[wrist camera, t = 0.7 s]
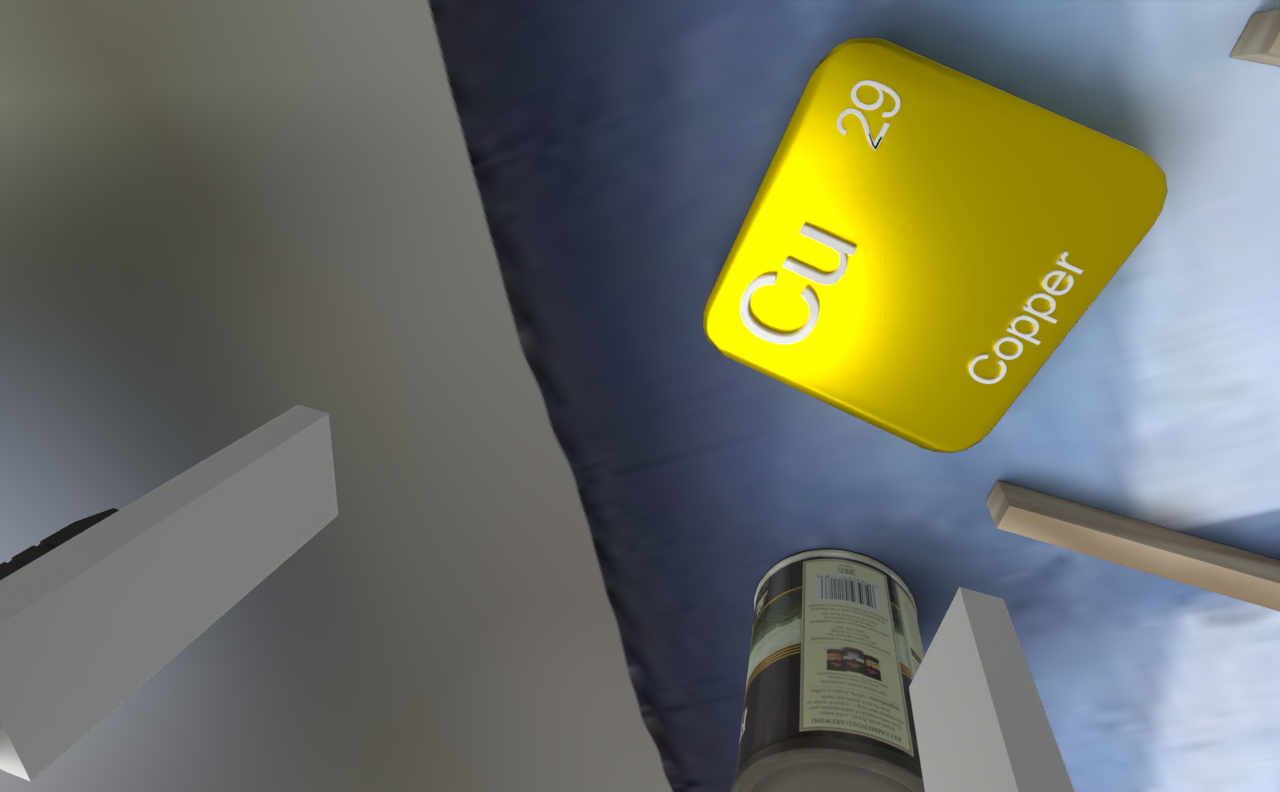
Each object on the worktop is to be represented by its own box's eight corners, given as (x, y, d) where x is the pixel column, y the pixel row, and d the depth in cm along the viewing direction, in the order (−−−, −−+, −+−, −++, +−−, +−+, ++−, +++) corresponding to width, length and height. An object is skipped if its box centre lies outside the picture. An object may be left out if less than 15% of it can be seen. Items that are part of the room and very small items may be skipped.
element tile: (947, 430, 35) (965, 474, 31) (701, 315, 36) (686, 344, 32) (1146, 164, 28) (1205, 175, 24) (834, 29, 29) (837, 16, 24)
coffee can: (783, 678, 45) (771, 899, 32) (732, 563, 42) (697, 758, 29) (937, 661, 41) (990, 903, 29) (893, 533, 38) (931, 742, 26)
